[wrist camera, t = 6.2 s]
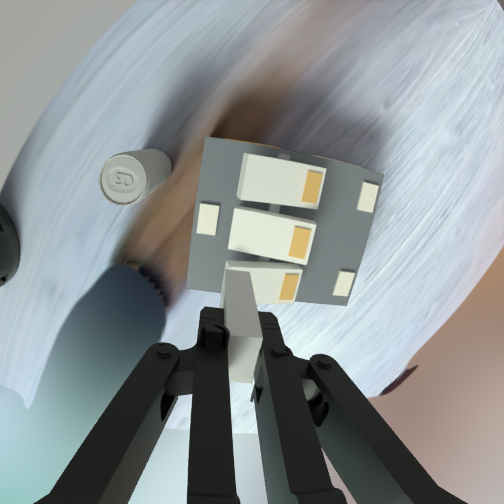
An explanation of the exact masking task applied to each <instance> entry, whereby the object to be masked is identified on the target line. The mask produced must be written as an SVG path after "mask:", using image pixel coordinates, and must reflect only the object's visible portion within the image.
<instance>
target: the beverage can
mask: <svg viewBox="0 0 504 504" xmlns="http://www.w3.org/2000/svg"><path fill="white" fill-rule="evenodd" d="M171 170H172V166H171V162H170V159H169V158H168V156H167V155H166V154H165V153H164V152H162V151H161V150H158V149H144V150H137V151H129V152H123V153H119V154H116V155H114V156H113V157H111V158H110V159H109V160H108V161H107V162H106V163H105V164H104V165H103V167H102V169H101V171H100V174H99V186H100V190H101V192H102V194H103V196H104V197H105V198H106V199H107V200H108V201H109V202H111V203H112V204H115V205H117V206H128V205H133V204H135V203H137V202H139V201H140V200H142V199H143V198H144V197H146V196H147V195H148V194H150V193H151V192H152V191H153V190H155V189H156V188H158V187H159V186H161V185H162V184H163V183H165V182H166V181H167V180H168V178H169V177H170V174H171Z"/></svg>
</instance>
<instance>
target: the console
mask: <svg viewBox="0 0 504 504" xmlns="http://www.w3.org/2000/svg"><path fill="white" fill-rule="evenodd" d="M244 153H249V154H255V155H261V156H267V157H273V158H278V159H284V160H289V161H294V162H299V163H304V164H309V165H313V166H318V167H322V168H325V169H326V173H325V178H324V183H323V187H322V192H321V196H320V201H319V205H318V210H317V209H310V208H303V207H295V206H288V205H280V204H272V203H264V202H256V201H247V200H240V199H239V198H238V197H237V190H238V184H239V178H240V172H241V166H242V161H243V155H244ZM383 177H384V174H382V173H379V172H375V171H372V170H368V169H365V168H363V167H361V166H358V165H354V164H350V163H346V162H343V161H339V160H335V159H330V158H326V157H322V156H318V155H313V154H310V155H308V154H303V153H299V152H294V151H289V150H284V149H281V148H280V147H275V146H270V145H265V144H259V143H253V142H247V141H241V140H235V139H228V138H226V139H220V138H212V137H205V143H204V149H203V156H202V162H201V169H200V175H199V182H198V189H197V197H196V204H195V212H194V220H193V228H192V237H191V246H190V255H189V265H188V275H187V286H186V289H193V290H201V291H208V292H216V293H221V291H222V284H223V277H224V271H225V264H226V260H231V261H252V262H273V263H293V262H289V261H284V260H279V259H274V258H269V257H264V256H259V255H255V254H250V253H245V252H240V251H235V250H230V249H228V244H229V238H230V232H231V226H232V219H233V213H234V208H235V207H236V206H237V205H238V206H244V207H249V208H254V209H259V210H264V211H269V212H274V213H279V214H284V215H289V216H293V217H298V218H303V219H307V220H312V221H315V222H316V229H315V233H314V237H313V242H312V246H311V250H310V254H309V258H308V262H307V265H303V264H298V263H295V264H298V265H299V266H300V267H301V268H302V269H303V272H302V275H301V279H300V283H299V287H298V291H297V294H296V298H295V301H297V302H307V303H318V304H330V305H342V306H347V303H348V300H349V297H350V294H351V291H352V288H353V285H354V282H355V279H356V276H357V273H358V270H359V267H360V263H361V260H362V257H363V253H364V250H365V247H366V243H367V240H368V236H369V233H370V229H371V225H372V222H373V218H374V214H375V210H376V206H377V202H378V198H379V194H380V190H381V186H382V181H383Z"/></svg>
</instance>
